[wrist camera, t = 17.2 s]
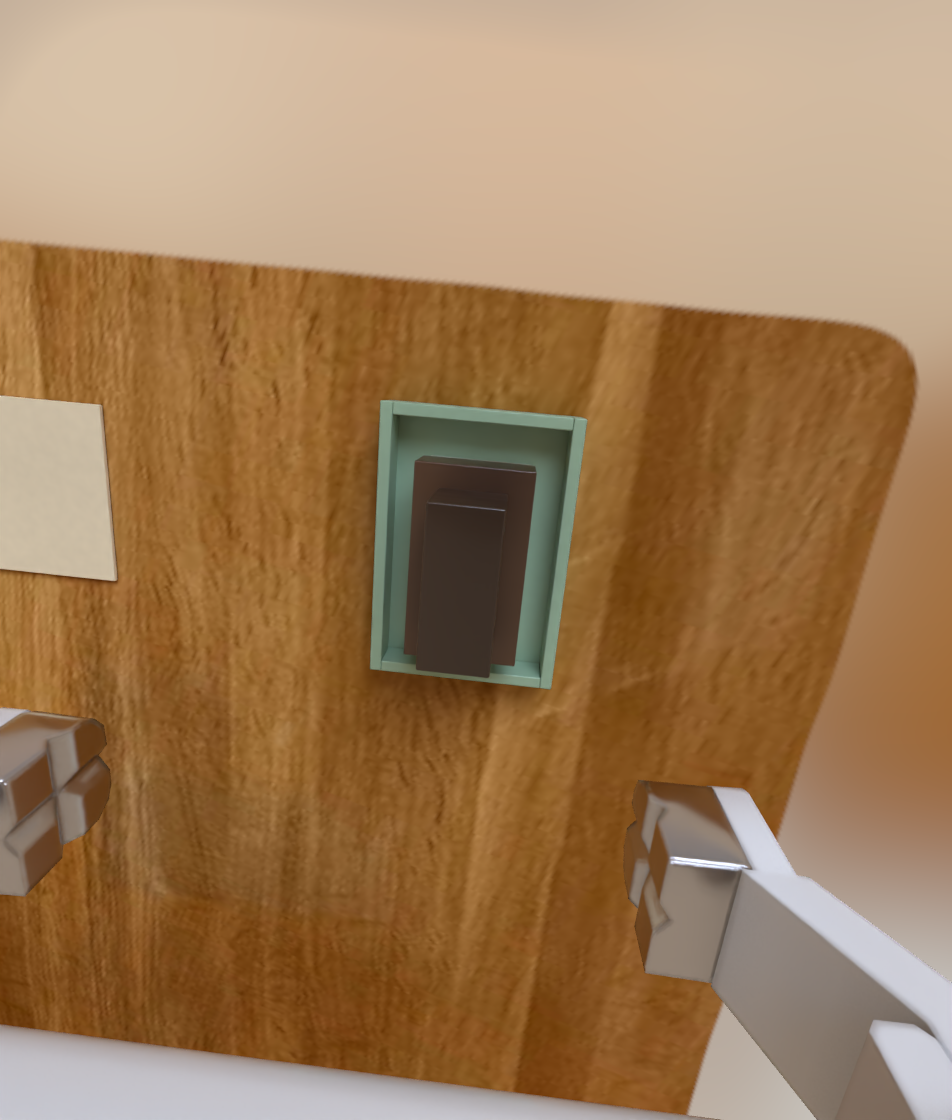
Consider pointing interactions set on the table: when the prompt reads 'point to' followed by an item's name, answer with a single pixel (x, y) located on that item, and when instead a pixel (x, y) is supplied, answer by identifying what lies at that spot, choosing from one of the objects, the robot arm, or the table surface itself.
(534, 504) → the tray
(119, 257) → the table surface
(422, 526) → the brush
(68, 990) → the table surface
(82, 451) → the board
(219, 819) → the table surface
